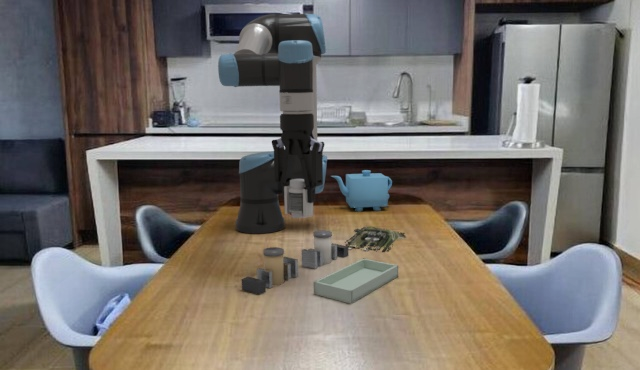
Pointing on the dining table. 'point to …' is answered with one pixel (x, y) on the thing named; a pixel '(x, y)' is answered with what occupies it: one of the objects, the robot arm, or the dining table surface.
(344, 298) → the tray
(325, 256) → the grey lidded jar
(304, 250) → the clip row
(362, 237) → the circuit board
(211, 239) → the dining table surface
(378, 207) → the teapot
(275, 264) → the cylinder
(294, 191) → the pill bottle
